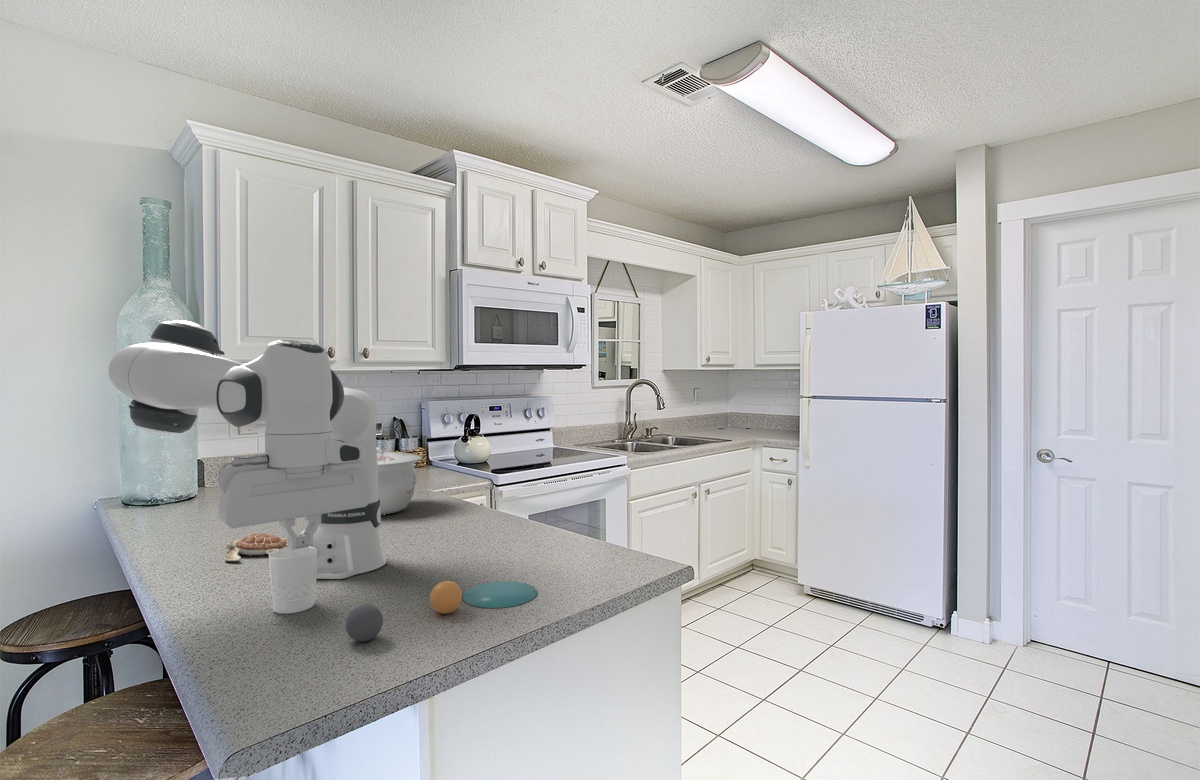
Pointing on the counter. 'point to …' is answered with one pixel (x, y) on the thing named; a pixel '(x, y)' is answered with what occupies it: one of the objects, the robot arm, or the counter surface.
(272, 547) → the decorative turtle
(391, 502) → the chamber pot
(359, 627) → the dark gray ball
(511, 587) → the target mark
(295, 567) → the white cup
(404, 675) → the counter surface
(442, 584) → the object ball
